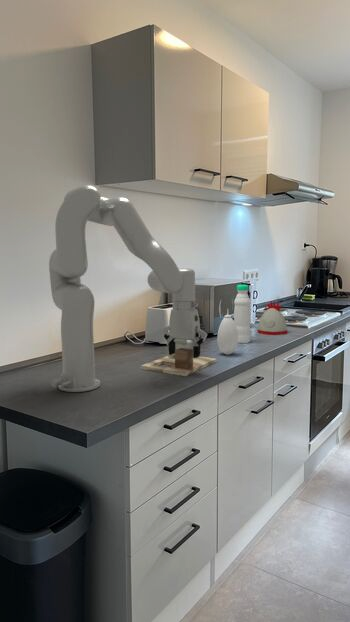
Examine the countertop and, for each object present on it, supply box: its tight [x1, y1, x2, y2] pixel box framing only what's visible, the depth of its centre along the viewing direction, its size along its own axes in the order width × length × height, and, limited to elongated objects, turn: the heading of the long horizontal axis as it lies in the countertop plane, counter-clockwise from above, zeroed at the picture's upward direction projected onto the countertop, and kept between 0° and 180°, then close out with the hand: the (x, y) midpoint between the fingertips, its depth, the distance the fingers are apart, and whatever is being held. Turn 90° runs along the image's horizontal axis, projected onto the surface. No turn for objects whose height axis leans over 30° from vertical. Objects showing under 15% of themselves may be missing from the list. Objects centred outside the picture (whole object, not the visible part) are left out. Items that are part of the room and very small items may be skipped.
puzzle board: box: [140, 355, 218, 377], centre depth 171 cm, size 22×18×1 cm
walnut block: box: [175, 347, 193, 369], centre depth 163 cm, size 4×4×6 cm
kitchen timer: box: [257, 301, 288, 336], centre depth 230 cm, size 14×14×15 cm
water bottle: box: [233, 284, 252, 344], centre depth 208 cm, size 7×7×25 cm
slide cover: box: [167, 331, 193, 357], centre depth 177 cm, size 8×8×9 cm
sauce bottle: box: [216, 309, 239, 356], centre depth 186 cm, size 8×8×18 cm
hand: (184, 355), depth 163 cm, fingers open, 9 cm apart
